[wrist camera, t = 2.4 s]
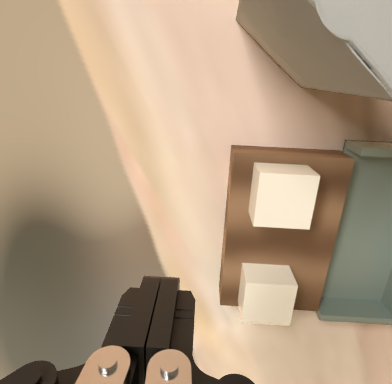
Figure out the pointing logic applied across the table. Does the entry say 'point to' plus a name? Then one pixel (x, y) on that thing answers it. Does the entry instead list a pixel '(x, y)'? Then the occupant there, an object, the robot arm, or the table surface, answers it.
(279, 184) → the tile
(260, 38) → the skincare box
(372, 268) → the tray
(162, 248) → the table surface
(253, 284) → the cream square block
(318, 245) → the walnut board
